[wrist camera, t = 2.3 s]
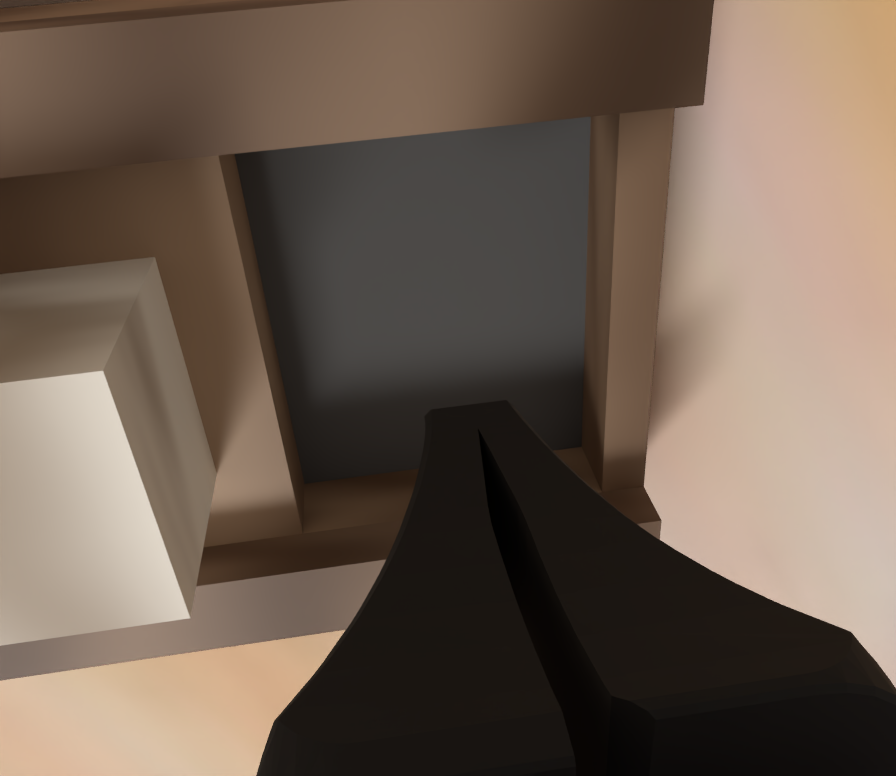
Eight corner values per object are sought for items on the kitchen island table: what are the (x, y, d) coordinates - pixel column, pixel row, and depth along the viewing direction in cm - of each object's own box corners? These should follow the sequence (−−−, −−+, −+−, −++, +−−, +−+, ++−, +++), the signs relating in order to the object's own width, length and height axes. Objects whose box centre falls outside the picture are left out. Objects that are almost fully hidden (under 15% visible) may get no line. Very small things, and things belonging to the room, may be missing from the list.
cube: (-25, 505, 17) (-112, 661, 13) (-136, 289, 14) (-278, 417, 11) (217, 473, 17) (190, 618, 14) (154, 256, 14) (103, 370, 11)
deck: (-414, 639, 20) (-529, 758, 17) (-942, 93, 13) (-1278, 149, 10) (614, 496, 22) (654, 583, 19) (645, -50, 15) (716, -35, 12)
